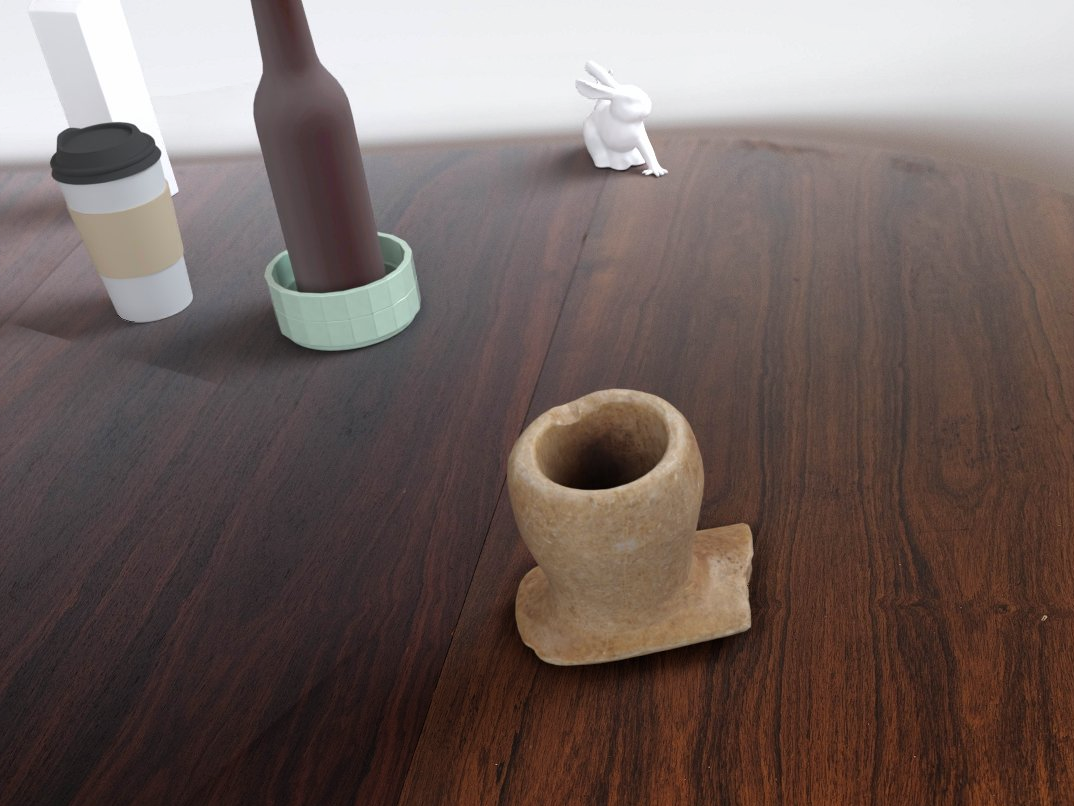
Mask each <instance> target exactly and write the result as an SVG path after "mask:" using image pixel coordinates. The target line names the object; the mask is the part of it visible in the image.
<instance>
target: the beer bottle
mask: <svg viewBox="0 0 1074 806" xmlns="http://www.w3.org/2000/svg"><path fill="white" fill-rule="evenodd" d="M250 5H251V11H252V15H253V21H254V26H255V31H256V37H257V41H258V46H259V52H260V57H261V63H262V74H261V77H260V80H259V82H258V85H257V88H256V90H255V94H254V97H253V104H252V105H253V107H252V108H253V111H252V114H253V122H254V126H255V131H256V136H257V138H258V139H257V140H258V143H259V147H260V151H261V154H262V159H263V162H264V166H265V170H266V174H267V177H268V182H269V185H270V186H269V187H270V190H271V192H272V197H273V201H274V205H275V208H276V212H277V217H278V220H279V224H280V228H281V232H282V235H283V236H282V237H283V239H284V243H285V248H286V250H287V251H288V255H289V259H290V263H291V267H292V271H293V274H294V278H295V282H296V286H297V290H298V292H300V293H330V292H340V291H346V290H350V289H354V288H358V287H362V286H365V285H368V284H370V283H373V282H375V281H378V280H380V279H382V278H384V277H385V276H386V271H385V266H384V262H383V257H382V252H381V247H380V243H379V238H378V233H377V232H378V229H377V224H376V219H375V215H374V209H373V206H372V201H371V196H370V192H369V185H368V181H367V176H366V172H365V167H364V163H363V158H362V154H361V149H360V144H359V143H360V142H359V138H358V134H357V128H356V124H355V120H354V114H353V111H352V107H351V103H350V101H349V98H348V95H347V93H346V91H345V89H344V87H343V86H342V85H341V83H340V82H339V81H338V79H337V78H336V77H335V76H334V75H333V74H332V73H331V72H329V70H328V69H327V68H326V67H325V65H323V63H322V62H321V61H320V60H321V59H320V58H319V56H318V54H317V51H316V47H315V44H314V40H313V35H312V32H311V29H310V26H309V22H308V18H307V15H306V11H305V7H304V4H303V1H302V0H250Z"/></svg>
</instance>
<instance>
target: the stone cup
mask: <svg viewBox="0 0 1074 806" xmlns="http://www.w3.org/2000/svg"><path fill="white" fill-rule="evenodd" d="M506 484H507V490H508V491H507V493H508V496H509V500H510V504H511V509H512V512H513V517H514V520H515V524H516V527H517V529H518V532H519V534H520V537H521V538H522V540H523V542H524V544H525V546H526V547H527V549H528V551H529V552H530V554H531V556H532V558H533V559H534V560H535V563H536V564H537V566H535V567H534V568H532V569H531V570H530V571H528V572H527V573H525V575H524V577H523V578H522V579H521V581H520V583H519V585H518V589H517V594H516V597H515V621H516V625H517V631H518V633H519V636H520V638H521V641H522V642H523V643H524V645H526V646H527V647H529V648H530V649H532V651H533V650H534V653H535V654H536V656H537V657H538V658H539V659H540V660H542V661H543V662H545V663H547V664H552V665H555V666H581V665H595V664H602V663H609V662H615V661H621V660H625V659H626V660H627V659H630V658H631V659H632V658H635V657H640V656H645V655H649V654H654V653H659V652H663V651H669V650H674V649H679V648H682V647H685V646H690V645H695V644H699V643H702V642H709V641H712V640H717V639H721V638H725V637H729V636H733V635H736V634H737V635H738V634H740V633H743V632H747V631H748V630H749V629H750V628H751V627H752V615H751V606H750V605H751V604H750V601H749V597H750V594H749V591H750V590H749V584H748V583H750V580H751V575H752V572H753V565H752V559H753V556H754V543H753V539H754V538H753V533H752V531H751V527H750V526H749V524H747V523H744V522H740V523H735V524H730V525H724V526H719V527H714V528H707V529H702V530H701V529H700V530H697V528H698V524H699V523H698V522H699V517H700V513H701V507H702V502H703V497H704V488H705V487H704V486H705V472H704V463H703V459H702V455H701V452H700V447H699V445H698V441H697V439H696V437H695V434H694V432H693V429H692V427H691V425H690V423H689V422H688V420H687V418H686V417H685V415H683V413H681V411H679V410H678V409H677V408H675V406H673V405H672V404H671V403H670V402H669V401H667V400H665V399H663V398H662V397H659V396H658V395H656V394H652V393H648V392H645V391H641V390H640V391H639V390H635V389H625V388H610V389H609V388H608V389H603V390H597V391H594V392H591V393H587V394H585V395H583V396H581V397H579V398H576V399H574V400H572V401H570V402H567V403H565V404H561V405H557V406H553V407H551V408H550V409H548V410H546V411H545V412H543V413H541V414H540V415H538V417H536V418H535V419H533V420H532V422H531V423H530V424H529V425H528V426H527V427H525V429H524V430H523V432H522V433H521V434H520V436H519V437H518V438H517V439H516V441H515V442H514V444H513V446H512V449H511V451H510V454H509V456H508V459H507V470H506ZM747 585H748V586H747Z"/></svg>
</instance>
